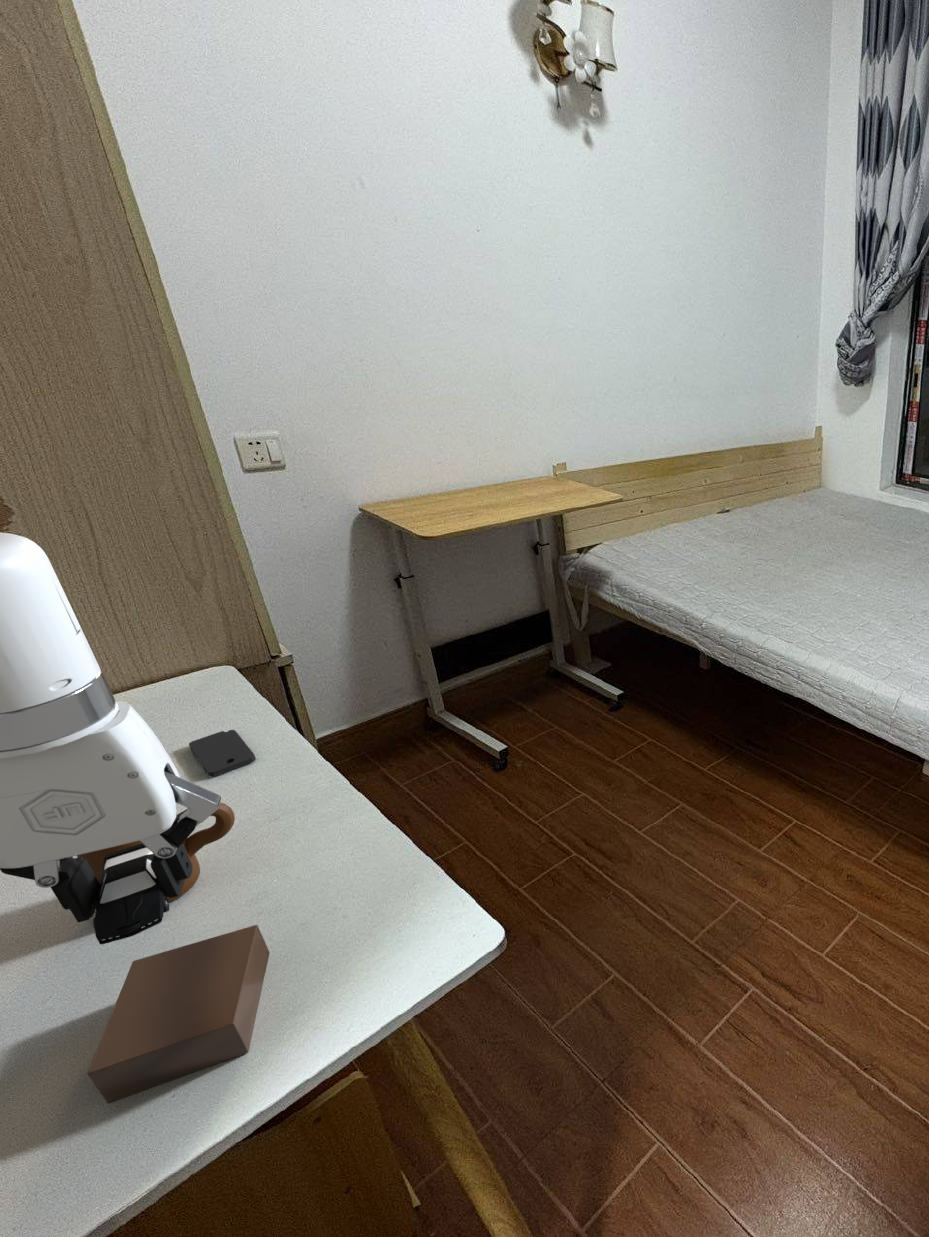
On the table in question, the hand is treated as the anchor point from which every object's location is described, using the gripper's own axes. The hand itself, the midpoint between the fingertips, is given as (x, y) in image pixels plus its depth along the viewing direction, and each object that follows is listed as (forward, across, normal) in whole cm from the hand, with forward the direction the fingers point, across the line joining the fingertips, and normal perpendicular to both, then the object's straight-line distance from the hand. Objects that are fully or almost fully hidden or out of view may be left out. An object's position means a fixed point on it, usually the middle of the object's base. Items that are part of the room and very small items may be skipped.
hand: (135, 894), depth 55 cm
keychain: (+15, -6, +44) cm, 47 cm away
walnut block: (+15, 0, -1) cm, 15 cm away
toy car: (+1, 0, 0) cm, 1 cm away
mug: (+15, -5, +19) cm, 24 cm away
